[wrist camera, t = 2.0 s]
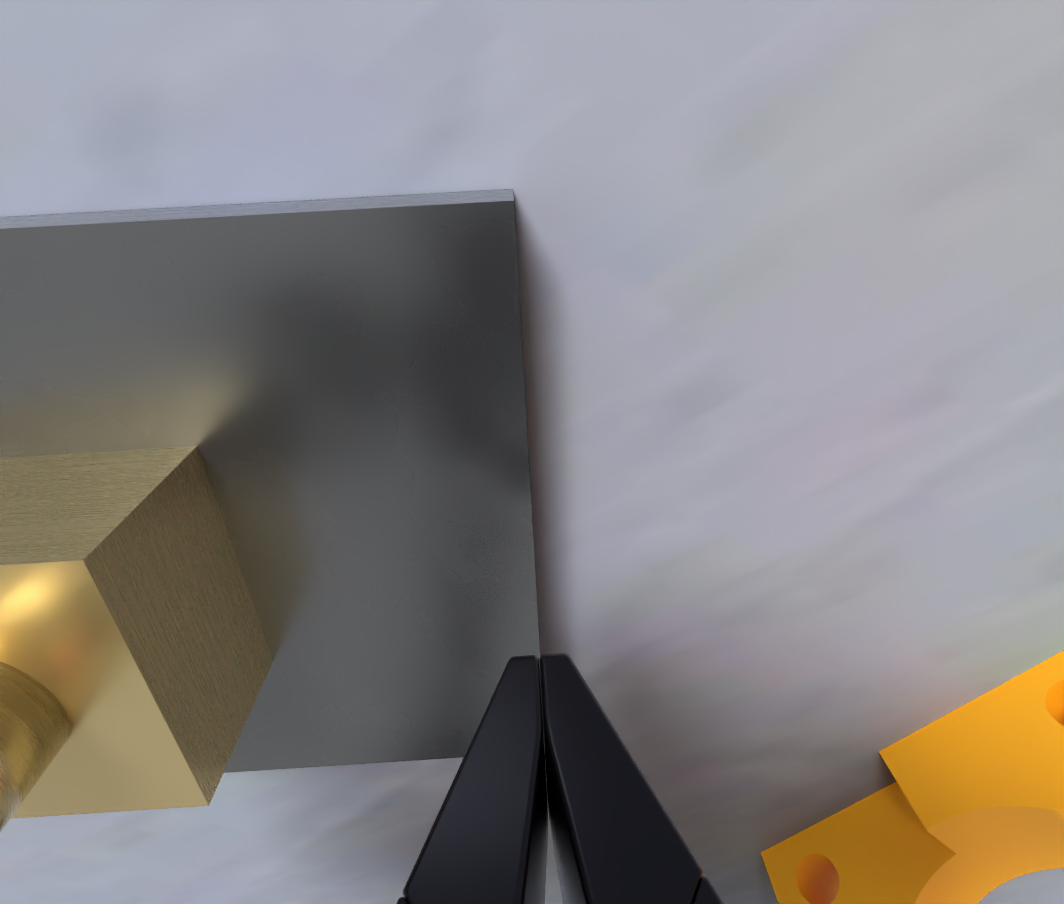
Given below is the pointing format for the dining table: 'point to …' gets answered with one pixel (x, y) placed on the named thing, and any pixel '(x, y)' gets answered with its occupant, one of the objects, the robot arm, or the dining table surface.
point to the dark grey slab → (310, 435)
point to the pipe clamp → (946, 808)
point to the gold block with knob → (119, 634)
